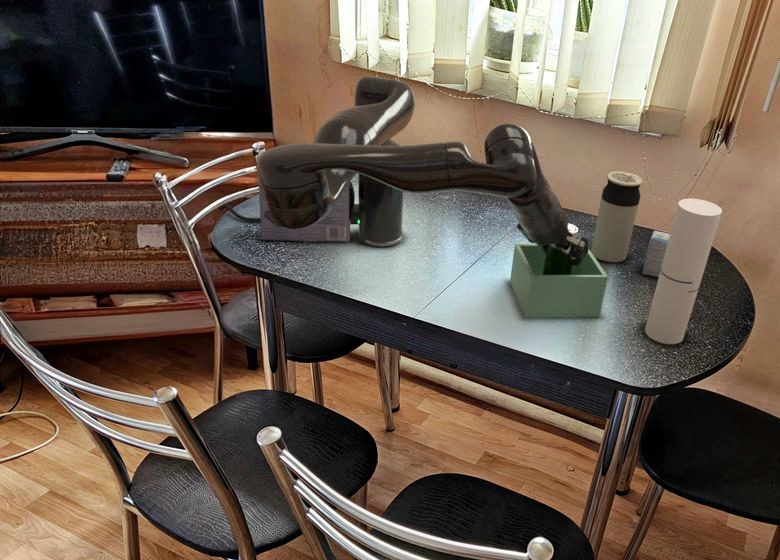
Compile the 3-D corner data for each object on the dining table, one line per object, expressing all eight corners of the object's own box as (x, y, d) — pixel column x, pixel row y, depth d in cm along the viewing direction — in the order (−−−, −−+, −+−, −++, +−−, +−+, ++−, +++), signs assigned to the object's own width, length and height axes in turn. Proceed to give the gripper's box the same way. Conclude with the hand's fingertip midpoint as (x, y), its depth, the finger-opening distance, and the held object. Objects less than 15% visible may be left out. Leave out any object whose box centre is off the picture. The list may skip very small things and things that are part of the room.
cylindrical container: (640, 322, 129) (673, 197, 115) (676, 323, 130) (713, 199, 116) (651, 343, 123) (686, 214, 109) (688, 344, 124) (728, 216, 110)
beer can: (574, 288, 132) (585, 230, 125) (554, 294, 128) (564, 236, 122) (555, 276, 135) (564, 219, 128) (535, 282, 132) (544, 225, 125)
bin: (525, 318, 127) (531, 277, 122) (509, 282, 137) (514, 243, 133) (599, 316, 130) (608, 276, 125) (578, 282, 140) (585, 244, 136)
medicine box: (680, 274, 148) (690, 237, 143) (678, 283, 144) (688, 246, 140) (644, 265, 150) (653, 229, 145) (641, 274, 146) (650, 237, 141)
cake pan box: (355, 233, 149) (354, 153, 140) (355, 243, 145) (354, 162, 136) (263, 231, 146) (256, 149, 136) (261, 241, 142) (253, 158, 132)
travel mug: (604, 265, 148) (621, 186, 138) (583, 249, 154) (598, 172, 144) (633, 260, 151) (651, 182, 141) (612, 245, 157) (628, 169, 147)
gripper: (494, 219, 118) (523, 260, 133) (566, 247, 111) (587, 286, 126) (515, 183, 118) (541, 228, 133) (587, 208, 112) (606, 252, 127)
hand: (564, 256), depth 130 cm, fingers closed on beer can, 5 cm apart
